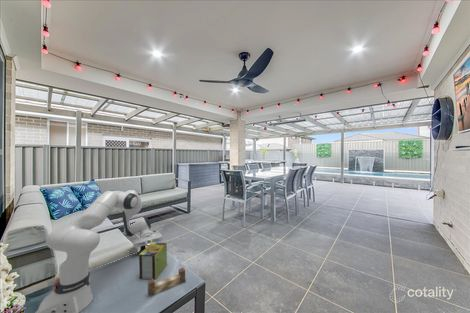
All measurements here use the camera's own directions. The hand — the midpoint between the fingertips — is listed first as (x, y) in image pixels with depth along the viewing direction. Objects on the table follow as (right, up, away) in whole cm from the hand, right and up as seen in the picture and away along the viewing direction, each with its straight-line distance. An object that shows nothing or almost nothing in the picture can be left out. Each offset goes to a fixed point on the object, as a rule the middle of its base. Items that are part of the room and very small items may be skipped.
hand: (149, 245), depth 132 cm
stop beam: (+24, -10, -29) cm, 39 cm away
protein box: (+10, -10, -15) cm, 21 cm away
